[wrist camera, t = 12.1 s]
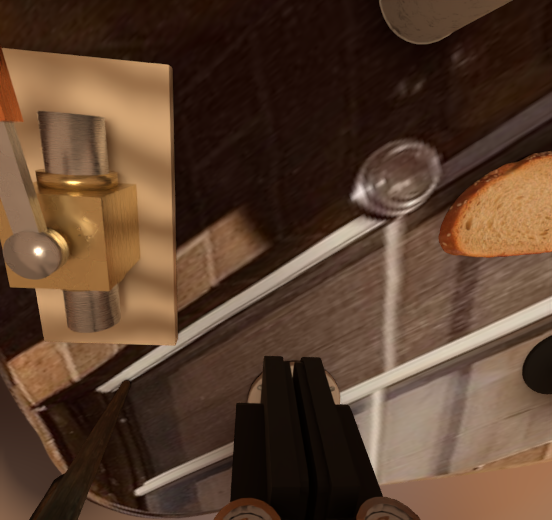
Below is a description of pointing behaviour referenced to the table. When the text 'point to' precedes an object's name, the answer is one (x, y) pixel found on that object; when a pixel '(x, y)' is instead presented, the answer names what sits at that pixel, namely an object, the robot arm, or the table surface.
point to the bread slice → (503, 212)
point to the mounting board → (130, 168)
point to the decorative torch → (81, 468)
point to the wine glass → (539, 367)
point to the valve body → (83, 220)
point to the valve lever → (23, 198)
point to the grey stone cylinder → (433, 17)
